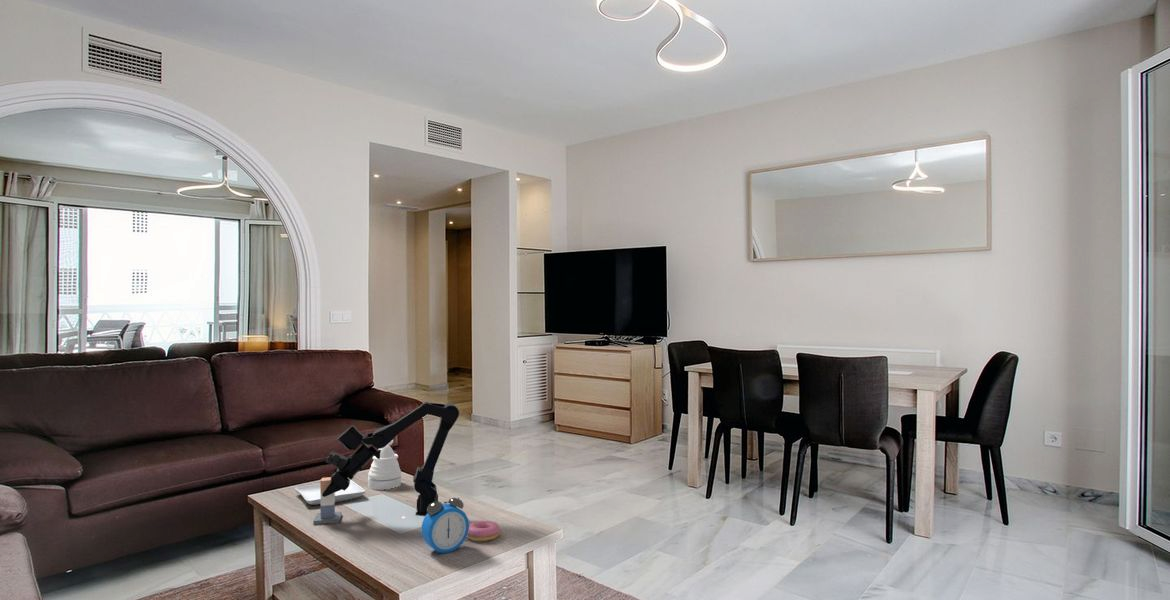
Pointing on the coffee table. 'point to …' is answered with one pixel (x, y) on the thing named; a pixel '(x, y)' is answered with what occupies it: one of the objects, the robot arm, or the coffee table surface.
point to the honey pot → (385, 470)
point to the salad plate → (314, 493)
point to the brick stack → (327, 500)
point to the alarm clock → (445, 525)
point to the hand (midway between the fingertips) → (324, 493)
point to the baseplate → (327, 520)
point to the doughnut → (483, 530)
